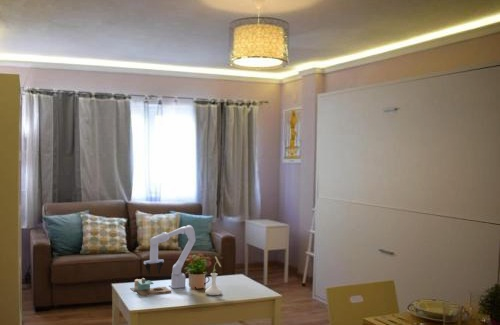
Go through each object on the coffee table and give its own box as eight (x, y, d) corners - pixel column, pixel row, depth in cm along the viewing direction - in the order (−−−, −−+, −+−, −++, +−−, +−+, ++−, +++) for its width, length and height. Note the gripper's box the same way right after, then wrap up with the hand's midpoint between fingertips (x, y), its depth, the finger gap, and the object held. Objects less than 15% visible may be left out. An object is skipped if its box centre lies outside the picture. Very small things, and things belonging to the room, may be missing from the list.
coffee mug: (190, 287, 361) (191, 273, 361) (201, 285, 366) (201, 271, 366) (199, 290, 352) (199, 276, 352) (210, 289, 357) (210, 274, 357)
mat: (143, 287, 358) (143, 286, 358) (147, 289, 351) (147, 289, 351) (129, 288, 353) (129, 288, 353) (133, 291, 346) (133, 290, 346)
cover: (149, 288, 348) (149, 276, 348) (153, 291, 340) (153, 279, 340) (137, 289, 344) (137, 277, 344) (141, 292, 337) (141, 280, 337)
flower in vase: (219, 297, 337) (220, 259, 337) (202, 295, 339) (203, 258, 339) (224, 292, 350) (225, 255, 350) (208, 291, 352) (209, 254, 352)
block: (142, 288, 354) (142, 279, 354) (140, 289, 350) (140, 280, 350) (136, 287, 355) (136, 279, 355) (134, 289, 350) (134, 280, 350)
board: (165, 288, 355) (165, 286, 355) (171, 292, 345) (171, 290, 345) (136, 291, 345) (136, 289, 345) (142, 295, 335) (142, 293, 335)
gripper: (147, 256, 352) (146, 275, 352) (166, 254, 360) (165, 273, 360) (142, 254, 357) (142, 273, 357) (161, 252, 366) (160, 271, 366)
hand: (153, 273), depth 359 cm, fingers open, 7 cm apart
